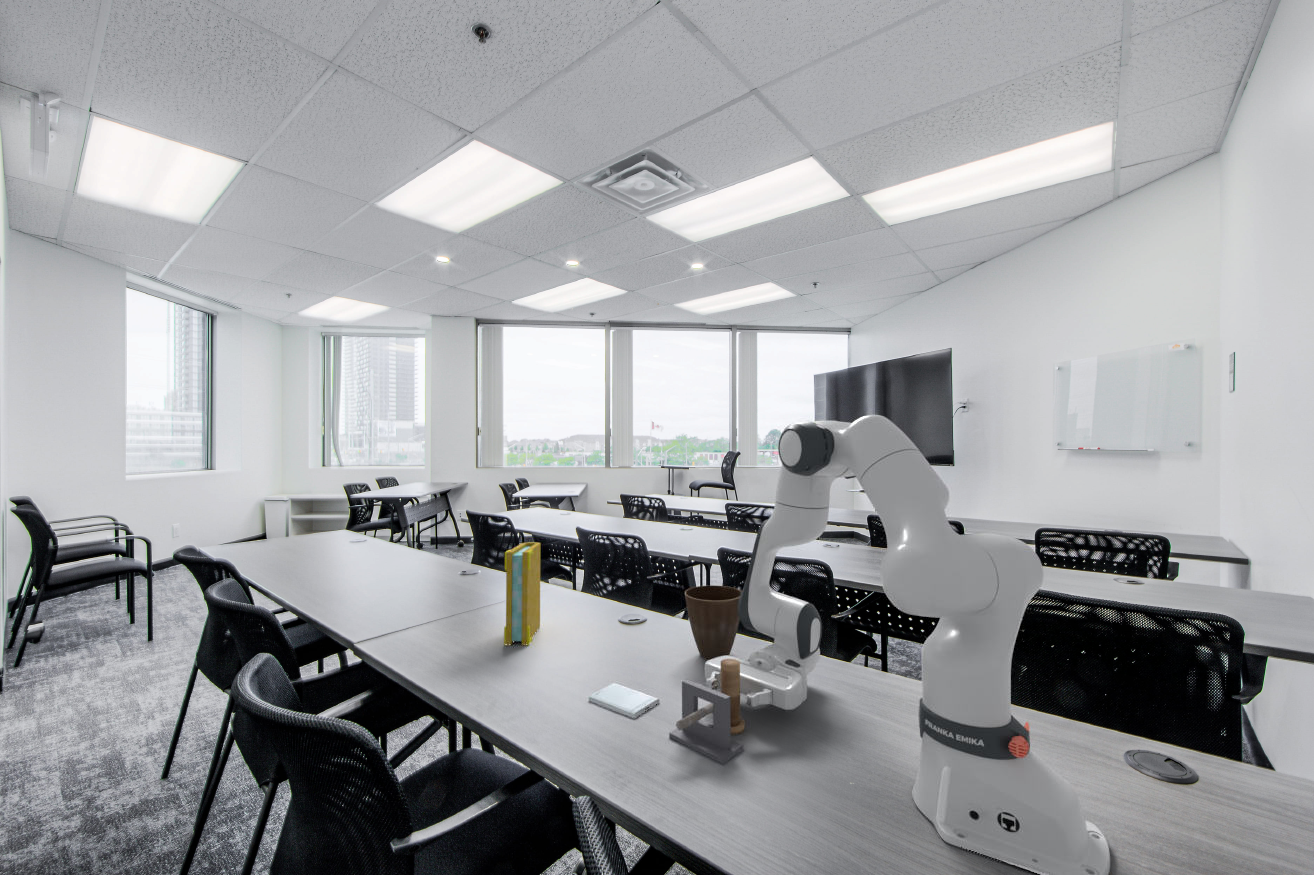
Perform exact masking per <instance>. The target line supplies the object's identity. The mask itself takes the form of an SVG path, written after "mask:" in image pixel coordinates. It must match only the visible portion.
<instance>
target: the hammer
mask: <svg viewBox="0 0 1314 875" xmlns="http://www.w3.org/2000/svg"><path fill="white" fill-rule="evenodd" d="M720 693H723V694H725V695H728V696H730V725H731V736H732V735H733V736H734V735H736V736H737V735H740V734H742V733H744V732H745V727H746V726H745V725H746V723H745V720H744V719H743V718H742V717H741V693H740V662H739V661H738V660H735V659H723V660H721V685H720ZM710 714H713V703H711V702H709V703H708V704H707V705H704V706H703V707H701V708H698V710H697V711H696V712H694V713H692V714H690V715H688V716H687V717H685V718H683V719H682V718H681V719H679V720H678V721H676V724H675V726H676V729H677V728H678V730H682V729H684V728H686V727H687V726H689V725H691V724H693V723H694V722H696V721H698V720H700V719H701V720H702V719H703V718H704V717H707V716H709V715H710Z"/></svg>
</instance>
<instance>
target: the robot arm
mask: <svg viewBox="0 0 1314 875" xmlns="http://www.w3.org/2000/svg"><path fill="white" fill-rule="evenodd" d="M777 445H778V446H777V447H778V449H777V450H778V455H779V460H780V462H781V467H780V471H779V475H778V480H777V484H776V485H777V486H776V491H775V492H776V493H775V500H774V501H775V502H774V507H773V511H772V513H771V514H770V516H769V518H768V519H765V520H764V521H763V522H762V523H761V524H760V526H759V528H758V531H757V534H756V537H755V541H754V545H753V548H752V553H751V557H750V561H749V566H748V569H747V570H748V571H747V575H746V577H745V578H746V579H745V582H744V586H743V589H742V590H741V591H742V593H741V595H740V598H739V601H738V605H737V611H738V615H739V618H740V620H739V621H740V623H741V625H742V626H743V627H744V628H745V629H746V630H749V631H752V632H756V633H760V634H763V635H766V636H768V637H770V638H772V639H774V641H773V643H772V644H769V645H766V646H765V647H762V648H760V649H758V650H756V651H754V652H752V653H751V654H750V655H749V656H748V658H747V660H746V659H744V658H743V659H742V658H740V657H736V656H733V655H725V656H720V657H717V658H714V659H711V660H707V661H706V660H705V661H706V662H705V663H704V678H705V687H707V688H710V689H713V690H715V691H716V690H717V689H718V686H721V660H723V659H735V660H738V661H739V662H740V694H742V695H745V696H746V705H749V706H751V707H753V708H755V707H757V706H758V705H773V707H774V706H775V707H777V708H780V709H783V710H785V711H787V710H788V711H791V710H792V711H793V710H795V709H796V708H798V707H799V706H800V705H802V703H803V702H805V701H806V700H807V696H808V675H809V674H810V673H812V672H813V670H814V669H815V668H816V667H817V665H818V663H819V661H820V657H821V649H820V644H821V642H822V637H823V636H822V635H823V622H822V619H821V616H820V614H819V612H818V609H817V608H816V607H815V605H814V604H813V603H810V602H808V601H806V600H802V599H799V598H797V597H794V596H790V595H787V594H784V593H781V592H778V591H776V590H774V589H772V587H771V586H770V580H771V575H772V571H773V567H774V565H775V563H774V562H775V559H776V555H777V553H778V552H779V550H780V549H783V548H788V547H795V546H800V545H805V544H808V543H811V542H813V541H815V540H817V539H818V538H819V537H821V535H822V534H823V533H824V532H825V530H826V527H827V525H828V520H829V512H830V498H831V495H830V493H831V492H830V491H831V486H832V484H833V482H834V481H835V480H837V479H838V478H844V479H847V480H848V479H849V480H850V479H853V478H855V479H856V480H857V482H858V483H859V485H860V486H861V488H862V490H863V492H864V493H865V495H866V496H867V498H868V500H869V502H870V504H871V505H872V506H873V508H874V510H875V512H876V514H877V515H878V517H879V519H880V521H881V523H882V526H883V528H884V532H885V535H886V544H887V545H886V546H887V548H886V551H885V554H884V555H883V557H882V560H881V563H880V567H879V569H880V570H879V577H880V579H879V580H880V582H881V583H880V584H881V587H882V588H883V592H884V594H885V595H886V597H887V598H888V600H889V601H890V603H891V604H892V605H893V606H894V608H895V607H896V609H898V610H899V611H901V612H902V613H905V614H907V615H912V616H919V617H928V618H937V619H938V618H939V621H938V622H937V625H936V627H935V628H934V630H933V631H932V632H931V634H930V635H929V636H928V637H927V638H926V640H925V641H924V643H923V645H922V649H921V652H920V654H921V688H922V690H921V692H922V693H921V694H922V695H921V696H922V697H920V699H919V706H918V728H919V736H920V738H921V746H920V757H919V763H918V770H917V773H916V778H915V782H914V785H913V787H912V791H911V793H912V799H913V801H914V804H915V805H916V807H917V809H919V811H920V812H921V813H922V814H923V815H924V816H925V817H926V818H927V819H928V820H929V821H930V822H931V823H932V824H933V825H934V827H935V829H936V831H937V832H938V835H939V836H940V838H941V839H942V840H943V841H944V842H946V843H947V844H949V845H952V846H956V847H958V848H961V847H962V848H961V849H964V850H966V849H967V851H969V850H971V851H970V852H972V851H975V852H978V853H980V854H979V855H981V854H985V855H988V856H990V857H994V858H998V859H1001V860H1005V861H1008V862H1012V863H1014V864H1017V865H1021V866H1024V867H1028V868H1031V869H1033V870H1036V871H1039V872H1042V873H1046V874H1049V875H1109V874H1110V870H1111V852H1110V848H1109V844H1108V841H1107V839H1106V837H1105V836H1104V834H1103V832H1102V831H1101V830H1100V829H1099V828H1098V827H1097V826H1096V825H1095V823H1092V822H1091V821H1088V819H1087V820H1086V817H1085V814H1084V810H1083V807H1082V803H1081V801H1080V798H1079V795H1078V794H1077V792H1076V790H1075V789H1074V787H1073V786H1072V785H1071V784H1070V783H1069V782H1068V781H1067V780H1065V778H1064V777H1062V776H1061V775H1059V773H1058V772H1056V771H1055V769H1053V768H1051V767H1050V766H1049V764H1047V763H1046V762H1045V761H1043V759H1041V757H1039V756H1038V754H1036V753H1035V752H1034V751H1033V750H1031V739H1030V724H1029V722H1028V721H1026V722H1025V724H1024V725H1023V724H1022V723H1021V722H1019V720H1017V718H1015V716H1014V715H1013V714H1012V704H1011V703H1012V702H1011V701H1012V700H1011V699H1012V698H1011V695H1012V694H1011V693H1012V692H1011V689H1012V686H1011V685H1012V684H1011V682H1012V680H1011V676H1012V675H1011V674H1012V671H1011V670H1012V659H1013V653H1014V648H1015V644H1016V640H1017V637H1018V633H1019V630H1020V626H1021V623H1022V620H1023V617H1024V615H1025V612H1026V609H1027V607H1028V605H1029V603H1030V601H1031V599H1033V597H1034V596H1035V595H1036V594H1037V593H1038V591H1040V589H1041V587H1042V585H1043V581H1044V569H1043V568H1044V567H1043V564H1042V562H1041V559H1040V557H1039V556H1038V554H1037V553H1036V552H1035V550H1034V549H1033V548H1032V547H1031V546H1030V545H1028V544H1027V543H1026V542H1024V541H1022V540H1020V539H1019V538H1015V537H1011V536H1007V535H1004V534H997V533H992V532H991V533H990V532H981V533H970V534H969V533H968V534H967V533H966V534H959V533H958V532H956V530H954V528H953V527H952V526H951V524H950V523H949V521H948V518H947V514H946V511H945V510H946V507H947V505H948V503H949V501H950V491H949V488H948V487H947V485H946V484H945V482H944V481H943V480H942V479H941V476H939V475H938V473H937V472H936V471H935V469H934V468H933V466H932V465H931V464H930V462H929V461H928V460H927V459H926V458H925V456H924V455H923V453H922V452H921V451H920V450H919V448H918V447H917V446H916V444H915V443H914V442H913V441H912V440H911V439H910V438H909V437H908V435H907V434H905V432H904V431H902V429H901V428H899V427H898V426H897V425H896V424H895V423H894V422H893V421H891V420H890V419H888V418H887V417H886V416H883V415H879V414H867V415H864V416H861V417H859V418H857V419H855V420H854V421H852V422H849V421H848V422H846V421H838V420H817V421H812V420H802V421H797V422H793V423H791V424H789V425H787V426H786V427H785V428H784V429H783V431H782V433H781V434H780V437H779V440H778V444H777ZM975 852H974V853H975ZM978 853H977V854H978Z"/></svg>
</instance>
